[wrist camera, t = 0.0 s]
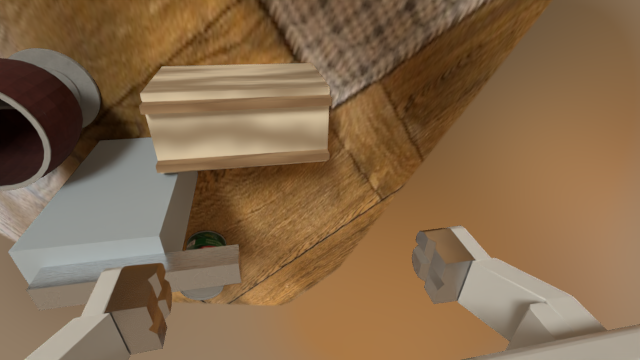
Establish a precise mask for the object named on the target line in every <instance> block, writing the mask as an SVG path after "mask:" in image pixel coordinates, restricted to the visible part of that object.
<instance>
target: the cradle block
mask: <svg viewBox="0 0 640 360" xmlns="http://www.w3.org/2000/svg"><path fill="white" fill-rule="evenodd" d="M140 96H141V99H142V103H141V104H140V106H139V108H140V112H141V114H146V118H147V122H148V126H149V129H150V133H151V137H152V141H153V145H154V148H155V152H156V156H157V160H158V162H157V164H156V166H155V167H156V170H157V173H161V174H164V173H178V172H191V171H204V170H217V169H230V168H243V167H256V166H269V165H282V164H295V163H308V162H322V161H327V160H329V159H330V153H329V151H328V149H327V147H328V121H329V106H332V97H331V96H330V87H329V85H328V84H327V83H326V81H325V80H324V79H323V77H322V76H321V75H320V73H319V72H318V71H317V69H316V68H315V67H314V65H313V64H312V63H290V64H246V65H202V66H162V67H161V69H160V70H159V71H158V72H157V74H156V75H155V76H154V77H153V79H152V80H151V81H150V82H149V83H148V85H147V86H146V87H145V88H144V90H143V91H142V92H141V93H140Z"/></svg>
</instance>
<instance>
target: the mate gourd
mask: <svg viewBox="0 0 640 360" xmlns="http://www.w3.org/2000/svg"><path fill="white" fill-rule="evenodd" d="M100 103H101V99H100V93H99V90H98V87H97V85H96V83H95V81H94V80H93V78H92V77H91V75H90V74H89V73H88V72H87V70H86V69H84V68H83V67H82V66H81V65H80V64H79V63H77V62H76V61H74V60H73V59H71V58H70V57H68V56H66V55H64V54H61V53H59V52H56V51H53V50H49V49H42V48H32V49H26V50H22V51H19V52H17V53H15V54H13V55H11V56H10V57H9V58H8V59H2V58H0V191H7V190H16V189H19V188H23V187H26V186H28V185H30V184H32V183H34V182H36V181H37V180H38V179H40V178H42V177H44V176H45V175H47V174H48V173H50V172H51V171H53V170H54V169H55V168H57V167H58V166H59V165H60V164H61V163H62V162H63V161H64V160H65V159H66V158H67V157H68V156H69V155H70V153H71V152H72V150H73V149H74V148H75V146H76V144H77V142H78V140H79V137H80V134H81V131H82V128H83V127H86V126H87V125H88V124H90V123H91V122H92V121H93V120H94V119H95V117H96V116H97V115H98V112H99V109H100Z"/></svg>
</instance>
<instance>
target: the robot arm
mask: <svg viewBox="0 0 640 360" xmlns="http://www.w3.org/2000/svg"><path fill="white" fill-rule="evenodd" d="M416 242H417V243H418V246H417V247H416V248H415V249H414V250H413V254H412V263H413V267H414V270H415V272H416V274H417V276H418V277H419V278H420V279H422V280H424V281H425V286H424V288H425V290H426V291H427V293H428V295H429V297H430V298H431V300H432V302H433V303H434V304H436V303H444V302H451V301H458V303H460V304H461V305H462V306H464V307H465V308H466V309H467V310H469V311H470V312H472V313H473V314H474V315H475V316H477V317H478V318H479V319H481V320H482V321H483V322H485V323H486V324H487V325H489V326H490V327H491V328H492V329H494V330H495V331H496V332H498V333H499V334H500V335H502V336H503V337H504V338H506V339H507V340H508V341H510V342H509V344H508V346H507V348H506V350H505V351H502V352H498V353H493V354H488V355H483V356H478V357H473V358H468V359H463V360H640V324H637V325H632V326H627V327H622V328H617V329H612V330H606V329H605V328H604V327H603V326H602V325H601V324H600V323H599V322H598V321H597V320H596V319H595V318H594V317H593V316H592V315H591V314H590V313H589V312H588V311H587V310H586V309H585V308H584V307H583V306H582V305H581V304H580V303H579V302H578V301H577V300H576V299H575V298H574V297H573V296H571V295H569V294H567V293H565V292H563V291H561V290H559V289H557V288H555V287H553V286H551V285H549V284H547V283H545V282H543V281H541V280H539V279H537V278H535V277H533V276H531V275H529V274H527V273H525V272H523V271H521V270H519V269H517V268H515V267H513V266H511V265H509V264H507V263H505V262H503V261H501V260H499V259H497V258H491V257H490V256H489V255H488V254H487V253H486V252H485V251H484V249H483V248H482V247H481V246H480V245H479V244H478V243H477V242H476V240H475V239H474V238H473V237H472V236H471V235H470V233H469V232H468V231H467V230H466V229H465V228H464V227H462V226H454V227H447V228H439V229H432V230H425V231H419V233H418V234H417V236H416ZM165 273H166V270H165V268H164V265H163V264H162V263H152V264H142V265H132V266H125V267H116V268H106V269H105V270H104V271H102V273H101V274H100V276H99V279H98V281H97V283H96V285H95V287H94V289H93V291H92V294H91V296H90V298H89V300H88V302H87V304H86V306H85V309H84V311H83V313H82V315H81V317H78V318H74V319H73V320H72V321H70V322H69V323H68V324H67V325H65V326H64V327H63V328H62V329H61V330H59V331H58V332H57V333H56V334H55V335H53V336H52V337H51V338H50V339H49V340H47V341H46V342H45V343H44V344H43V345H41V346H40V347H39V348H38V349H37V350H35V351H34V352H33V353H32V354H30V355H29V356H28V357H27V358H26V359H24V360H128V359H129V357H130V355H131V354H137V353H142V352H147V351H152V350H157V349H162V348H163V344H164V340H165V335H166V330H167V325H166V322H165V318H166V317H167V316H168V315H169V314H170V311H171V306H172V292H171V286H170V283H169V282H168V281H167V280H165V279H164V278H165Z"/></svg>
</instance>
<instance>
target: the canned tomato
mask: <svg viewBox="0 0 640 360" xmlns="http://www.w3.org/2000/svg"><path fill="white" fill-rule="evenodd" d="M220 246H226V240H225V239H224V237H223V236H222V235H220V234H219V233H217V232H214V231H200V232H197V233H195V234H193V235H192V236H191V237H190V238H189V240H188V242H187V247H186V250H195V249H203V248H212V247H220ZM223 287H224V285H221V286H213V287H206V288H199V289H191V290H184V291H180V292H181V293H182V294H183V295H184V296H186V297H187V298H190V299H194V300H207V299H210V298H213V297H215V296H217V295H218V294H219V293H220V292H221V291H222V290H223Z"/></svg>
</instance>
